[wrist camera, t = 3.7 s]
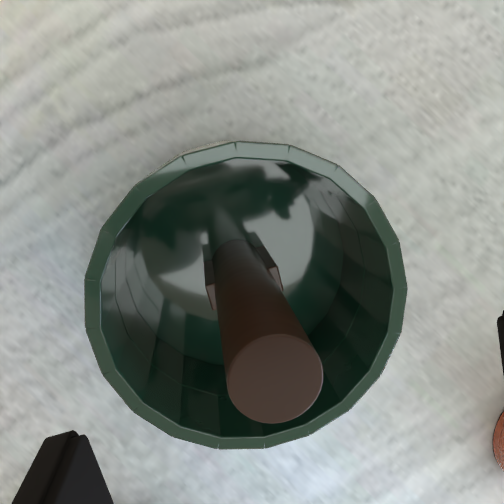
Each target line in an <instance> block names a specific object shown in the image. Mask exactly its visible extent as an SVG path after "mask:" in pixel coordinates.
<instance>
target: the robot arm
mask: <svg viewBox="0 0 504 504" xmlns="http://www.w3.org/2000/svg"><path fill="white" fill-rule="evenodd" d="M497 327H498V334H499V342H500V350H501V358H502V366H503V374H504V310H503V314H502V316H500V317H499V318H498V320H497ZM12 504H114V503H113V500H112V498H111V495H110V493H109V490H108V488H107V485H106V483H105V480H104V478H103V475H102V473H101V470H100V468H99V465H98V463H97V460H96V458H95V455H94V453H93V450H92V447H91V445H90V442H89V440H88V438H87V437H86V435H80V436H79V435H78V434H77V432H76V431H73V430H72V431H69V432H65V433H62V434H58V435H55V436H51V437H48V438H46V439H45V440H44V442H43V444H42V446H41V448H40V450H39V451H38V453H37V455H36V457H35V459H34V461H33V463H32V465H31V467H30V469H29V471H28V473H27V475H26V477H25V479H24V481H23V482H22V484H21V486H20V488H19V490H18V492H17V494H16V496H15V498H14V500H13V502H12Z"/></svg>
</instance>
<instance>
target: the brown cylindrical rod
mask: <svg viewBox="0 0 504 504" xmlns="http://www.w3.org/2000/svg"><path fill="white" fill-rule="evenodd" d="M204 275H205V287H206V291H207V294H208V298H209V301H210V304H211V308H212V310H217V314H218V322H219V330H220V337H221V345H222V352H223V360H224V368H225V375H226V383H227V389H228V394H229V396H230V399H231V401H232V402H233V404H234V405H235V407H236V408H237V409H238V410H239V411H240V412H241V413H242V414H244V415H245V416H247V417H248V418H250V419H252V420H255V421H258V422H262V423H282V422H286V421H289V420H292V419H294V418H296V417H298V416H300V415H301V414H303V413H304V412H305V411H307V410H308V409H309V408H310V407H311V406H312V405H313V403H314V402H315V401H316V399H317V397H318V395H319V393H320V391H321V388H322V384H323V366H322V363H321V360H320V358H319V356H318V354H317V352H316V350H315V349H314V347H313V345H312V343H311V342H310V340H309V338H308V336H307V335H306V333H305V331H304V329H303V328H302V326H301V324H300V322H299V321H298V319H297V317H296V315H295V314H294V312H293V310H292V308H291V307H290V305H289V303H288V301H287V300H286V298H285V296H284V294H283V293H282V291H283V285H282V281H281V277H280V273H279V269H278V266H277V264H276V263H275V261H274V260H273V258H272V257H271V255H270V254H269V252H268V251H267V249H266V248H265V246H261V247H257V248H256V247H255V246H254V245H252V244H251V243H249V242H247V241H243V240H232V241H228V242H226V243H224V244H222V245H221V246H220V247H219V248H218V249H217V250H216V252H215V253H214V255H213V258H212V260H210V261H206V262H204Z"/></svg>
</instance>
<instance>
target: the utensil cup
mask: <svg viewBox="0 0 504 504" xmlns="http://www.w3.org/2000/svg"><path fill="white" fill-rule="evenodd" d="M493 449H494V454H495V458H496V460H497V463H498V464H499V466H500V468H501V469H502V470H503V471H504V411H503V413H502V414H501V416H500V418H499V420H498V422H497V425H496V428H495V432H494V438H493Z"/></svg>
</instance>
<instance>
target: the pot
mask: <svg viewBox="0 0 504 504" xmlns="http://www.w3.org/2000/svg"><path fill="white" fill-rule="evenodd" d="M232 240H243V241H247V242H249V243H251V244H252V245H254V246H255V247H256V248H257V247H261V246H265V248H266V249H267V251H268V252H269V254H270V255H271V257H272V258H273V260H274V261H275V263H276V264H277V266H278V269H279V273H280V277H281V281H282V285H283V291H282V293H283V294H284V296H285V298H286V300H287V301H288V303H289V305H290V307H291V308H292V310H293V312H294V314H295V315H296V317H297V319H298V321H299V322H300V324H301V326H302V328H303V329H304V331H305V333H306V335H307V336H308V338H309V340H310V342H311V343H312V345H313V347H314V349H315V350H316V352H317V354H318V356H319V358H320V360H321V363H322V366H323V384H322V388H321V391H320V393H319V395H318V397H317V399H316V401H315V402H314V403H313V405H312V406H311V407H310V408H309V409H308V410H307V411H305V412H304V413H303V414H301V415H300V416H298V417H296V418H294V419H292V420H289V421H286V422H282V423H262V422H258V421H255V420H252V419H250V418H248V417H247V416H245V415H244V414H242V413H241V412H240V411H239V410H238V409H237V408H236V407H235V405H234V404H233V402H232V401H231V399H230V396H229V394H228V389H227V383H226V375H225V368H224V360H223V352H222V345H221V337H220V330H219V322H218V314H217V310H212V308H211V304H210V301H209V298H208V294H207V291H206V287H205V275H204V262H206V261H210V260H212V258H213V255H214V253H215V252H216V250H217V249H218V248H219V247H220V246H221V245H222V244H224V243H226V242H228V241H232ZM84 295H85V328H86V333H87V335H88V338H89V341H90V343H91V346H92V349H93V352H94V354H95V357H96V360H97V362H98V365H99V368H100V370H101V373H102V374H103V376H104V377H105V379H106V380H107V381H108V382H109V383H110V385H111V386H112V387H113V388H114V390H115V391H116V392H117V393H118V394H119V396H120V397H121V398H122V399H123V400H124V402H125V403H126V404H127V405H128V407H129V408H130V409H131V410H132V411H133V412H134V413H135V414H137V415H138V416H140V417H142V418H143V419H145V420H146V421H148V422H150V423H151V424H153V425H154V426H156V427H157V428H159V429H161V430H162V431H164V432H165V433H167V434H168V435H170V436H173V437H174V438H178V439H182V440H185V441H189V442H193V443H196V444H200V445H204V446H207V447H211V448H215V449H264V448H269V447H273V446H276V445H279V444H283V443H286V442H289V441H293V440H296V439H299V438H303V437H306V436H309V435H311V434H313V433H314V432H316V431H318V430H319V429H321V428H322V427H324V426H325V425H327V424H329V423H330V422H332V421H333V420H335V419H337V418H338V417H340V416H341V415H343V414H345V413H346V412H348V411H349V410H350V409H351V408H352V407H353V406H354V405H355V404H356V403H357V402H358V401H359V399H360V398H361V397H362V396H363V395H364V394H365V393H366V392H367V391H368V389H369V388H370V387H371V386H372V385H373V384H374V383H375V382H376V381H377V379H378V378H379V377H380V375H381V374H382V372H383V370H384V368H385V366H386V364H387V362H388V359H389V357H390V355H391V353H392V351H393V349H394V347H395V345H396V343H397V341H398V339H399V336H400V334H401V331H402V324H403V317H404V310H405V303H406V296H407V282H406V276H405V270H404V265H403V259H402V253H401V248H400V242H399V239H398V237H397V236H396V234H395V232H394V230H393V228H392V227H391V225H390V223H389V221H388V219H387V218H386V216H385V214H384V212H383V210H382V208H381V207H380V205H379V203H378V201H377V200H376V199H375V197H374V196H373V195H372V194H371V193H369V192H368V191H367V190H366V189H365V188H364V187H363V186H362V185H361V184H359V183H358V182H357V181H356V180H355V179H354V178H353V177H352V176H350V175H349V174H348V173H347V172H346V171H345V170H344V169H343V168H342V167H340V166H339V165H337V164H336V163H333V162H331V161H328V160H326V159H324V158H321V157H319V156H316V155H314V154H312V153H309V152H307V151H304V150H302V149H300V148H297V147H295V146H293V145H289V144H278V143H263V142H248V141H231V140H225V141H219V142H215V143H212V144H208V145H203V146H200V147H196V148H193V149H189V150H186V151H183V152H182V153H180V154H179V155H177V156H176V157H174V158H173V159H171V160H170V161H168V162H167V163H165V164H163V165H162V166H160V167H159V168H157V169H156V170H154V171H153V172H151V173H150V174H149V175H147V176H146V177H145V178H144V179H142V180H141V181H140V182H138V183H137V184H136V185H135V186H134V187H133V188H132V189H131V191H130V192H129V193H128V194H127V196H126V197H125V198H124V200H123V201H122V202H121V203H120V205H119V206H118V207H117V208H116V210H115V211H114V212H113V214H112V215H111V216H110V217H109V219H108V220H107V221H106V223H105V224H104V225H103V226H102V229H101V230H100V233H99V236H98V239H97V242H96V245H95V248H94V251H93V254H92V256H91V259H90V262H89V265H88V268H87V271H86V274H85V279H84Z"/></svg>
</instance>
